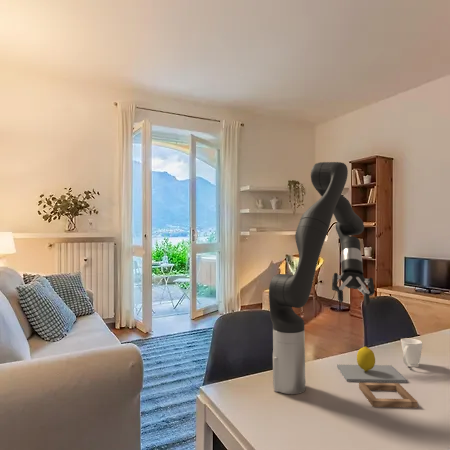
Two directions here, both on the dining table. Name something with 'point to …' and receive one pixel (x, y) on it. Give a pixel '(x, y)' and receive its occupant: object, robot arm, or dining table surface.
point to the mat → (371, 374)
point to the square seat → (379, 402)
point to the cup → (411, 351)
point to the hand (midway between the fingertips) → (353, 303)
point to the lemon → (366, 358)
